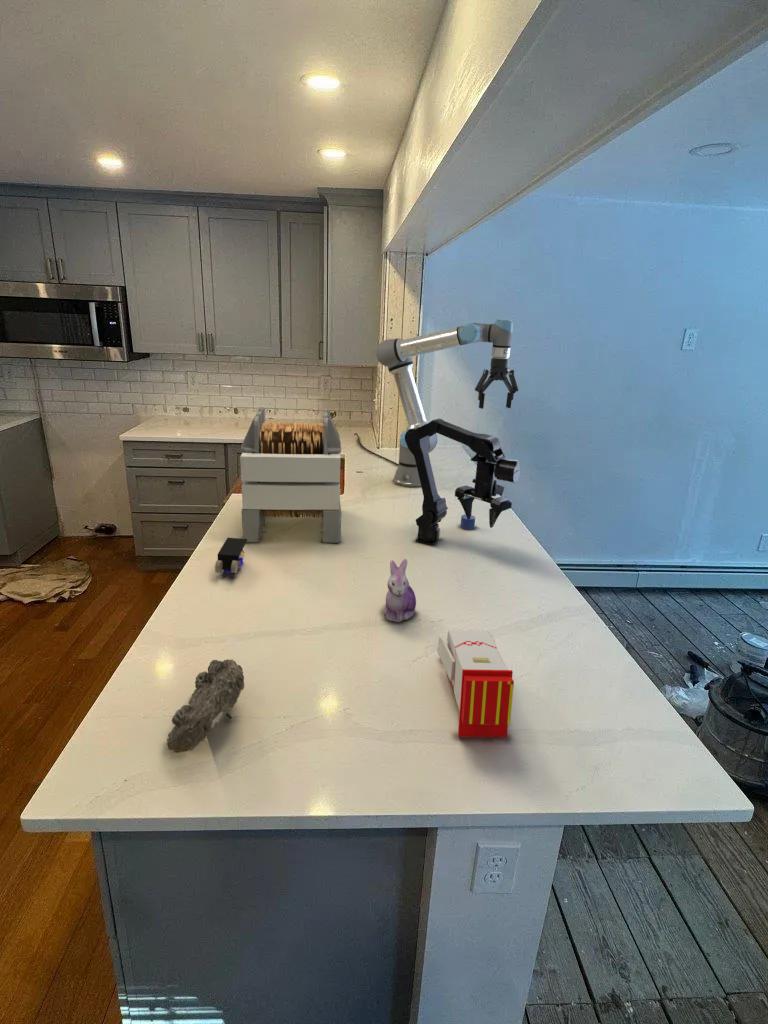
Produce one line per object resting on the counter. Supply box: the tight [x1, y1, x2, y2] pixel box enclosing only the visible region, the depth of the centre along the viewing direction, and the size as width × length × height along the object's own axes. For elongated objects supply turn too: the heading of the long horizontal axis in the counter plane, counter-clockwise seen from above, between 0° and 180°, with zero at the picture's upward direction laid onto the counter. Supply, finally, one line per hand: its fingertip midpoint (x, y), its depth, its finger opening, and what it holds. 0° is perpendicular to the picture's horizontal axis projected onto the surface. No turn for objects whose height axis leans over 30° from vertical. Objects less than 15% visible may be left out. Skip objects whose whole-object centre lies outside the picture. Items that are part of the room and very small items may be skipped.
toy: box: [437, 628, 515, 738], centre depth 117 cm, size 12×13×30 cm
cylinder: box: [459, 514, 476, 531], centre depth 208 cm, size 5×5×4 cm
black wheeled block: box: [214, 537, 248, 578], centre depth 166 cm, size 7×8×15 cm
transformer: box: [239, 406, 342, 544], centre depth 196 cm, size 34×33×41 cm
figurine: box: [384, 558, 417, 623], centre depth 145 cm, size 9×10×15 cm
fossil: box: [166, 658, 245, 754], centre depth 106 cm, size 22×10×15 cm
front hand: (479, 523), depth 182 cm, fingers open, 9 cm apart
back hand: (494, 408), depth 248 cm, fingers open, 13 cm apart
